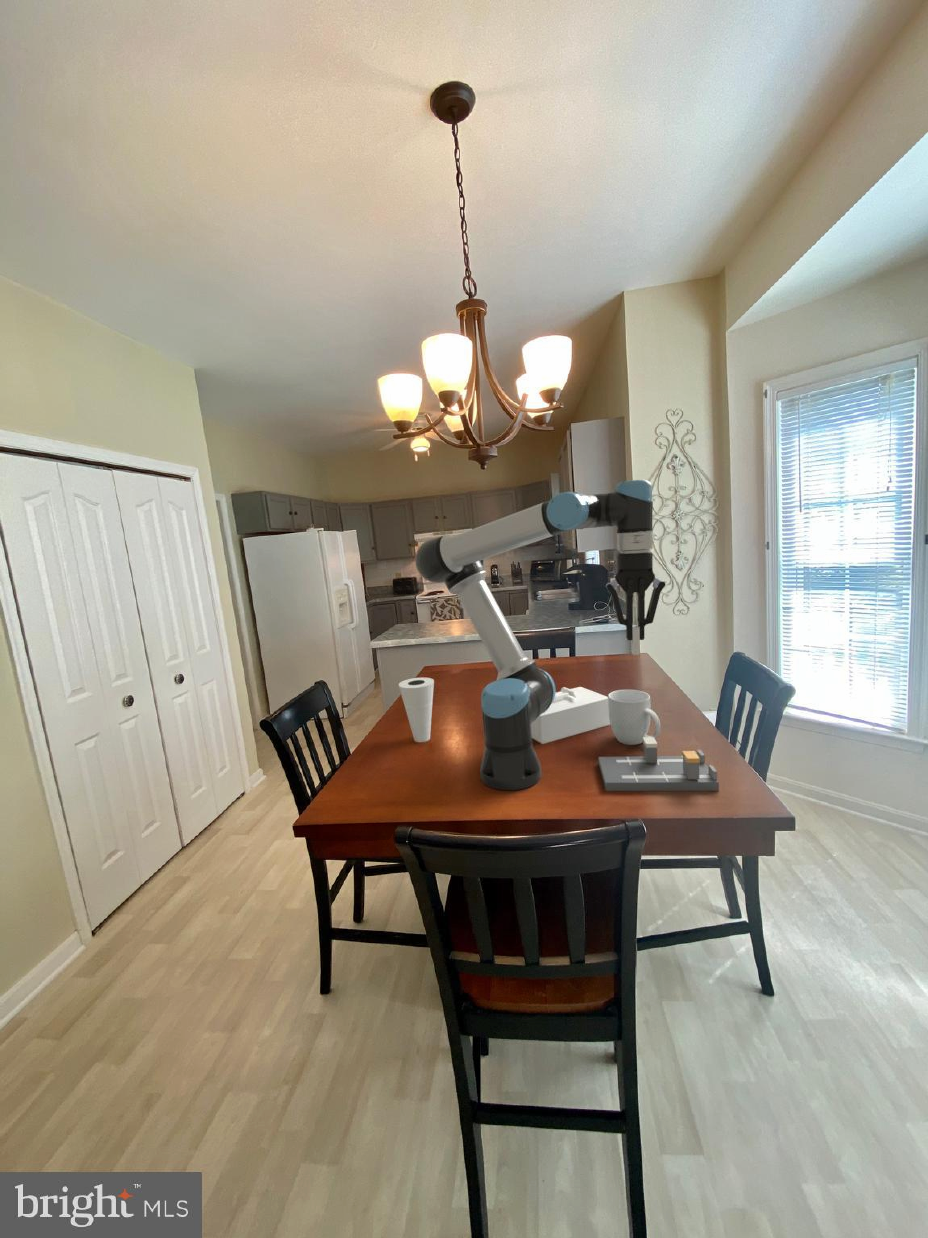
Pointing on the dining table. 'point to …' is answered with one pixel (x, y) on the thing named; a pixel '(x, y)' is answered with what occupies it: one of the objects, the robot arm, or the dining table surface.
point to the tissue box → (571, 715)
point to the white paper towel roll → (418, 705)
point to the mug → (631, 716)
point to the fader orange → (691, 764)
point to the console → (655, 774)
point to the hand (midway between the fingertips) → (635, 653)
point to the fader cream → (650, 749)
